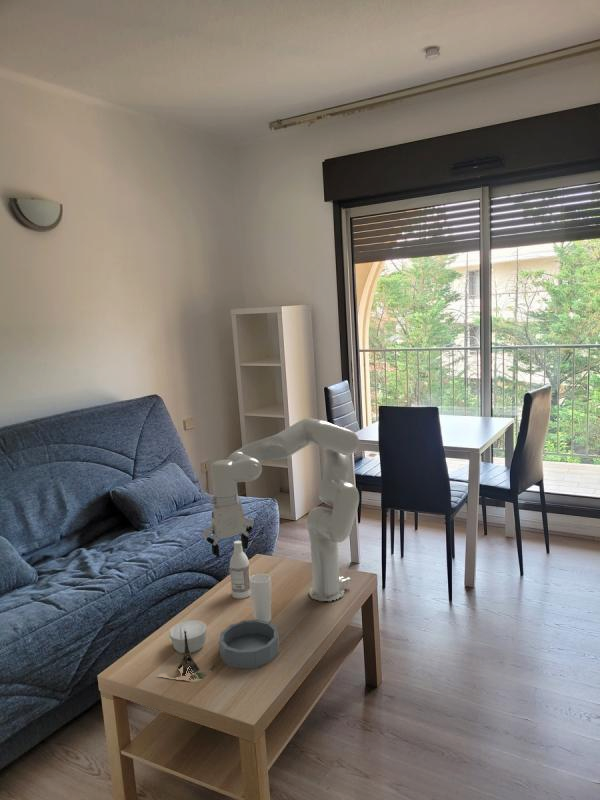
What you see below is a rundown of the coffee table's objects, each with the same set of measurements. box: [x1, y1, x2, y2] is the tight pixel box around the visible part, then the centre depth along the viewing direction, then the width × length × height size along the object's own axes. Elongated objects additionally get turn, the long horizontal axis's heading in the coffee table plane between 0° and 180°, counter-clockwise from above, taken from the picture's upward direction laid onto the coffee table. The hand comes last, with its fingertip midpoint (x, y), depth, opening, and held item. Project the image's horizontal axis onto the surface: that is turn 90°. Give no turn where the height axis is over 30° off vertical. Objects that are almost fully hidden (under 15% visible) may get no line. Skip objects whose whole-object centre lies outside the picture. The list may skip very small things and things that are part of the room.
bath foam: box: [229, 540, 251, 600], centre depth 208 cm, size 7×7×20 cm
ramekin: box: [169, 619, 208, 654], centre depth 178 cm, size 11×11×5 cm
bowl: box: [218, 619, 280, 670], centre depth 173 cm, size 17×17×5 cm
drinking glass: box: [250, 573, 272, 623], centre depth 189 cm, size 7×7×15 cm
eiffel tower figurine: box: [177, 631, 219, 680], centre depth 165 cm, size 15×10×13 cm
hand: (230, 551), depth 183 cm, fingers open, 9 cm apart
